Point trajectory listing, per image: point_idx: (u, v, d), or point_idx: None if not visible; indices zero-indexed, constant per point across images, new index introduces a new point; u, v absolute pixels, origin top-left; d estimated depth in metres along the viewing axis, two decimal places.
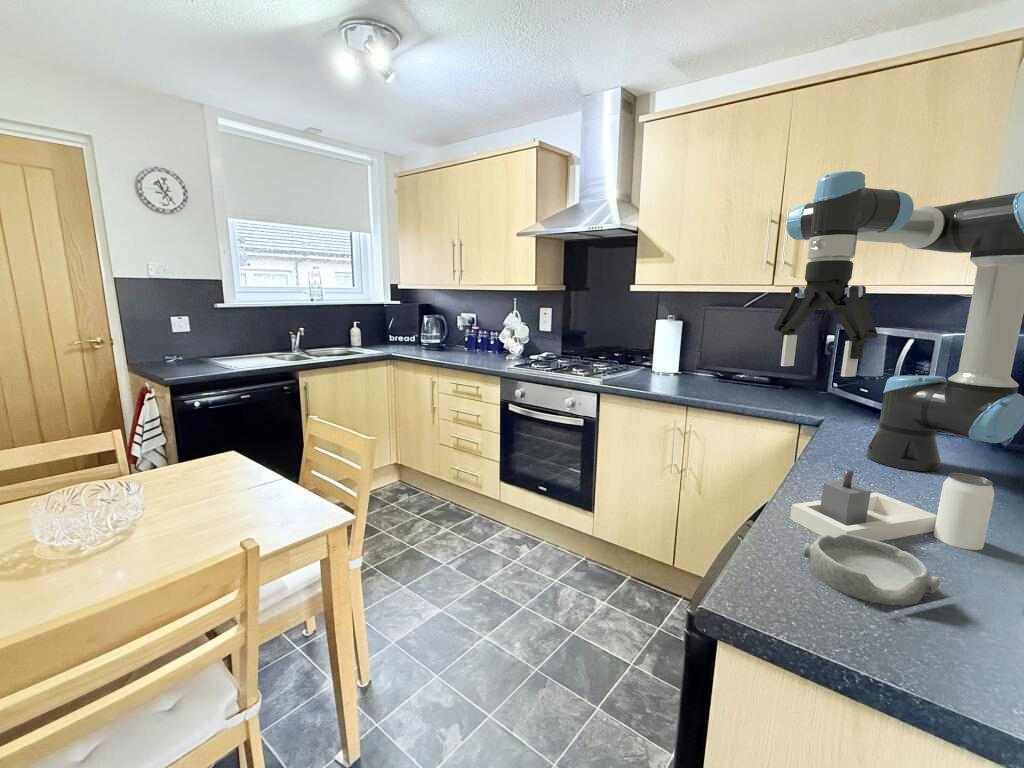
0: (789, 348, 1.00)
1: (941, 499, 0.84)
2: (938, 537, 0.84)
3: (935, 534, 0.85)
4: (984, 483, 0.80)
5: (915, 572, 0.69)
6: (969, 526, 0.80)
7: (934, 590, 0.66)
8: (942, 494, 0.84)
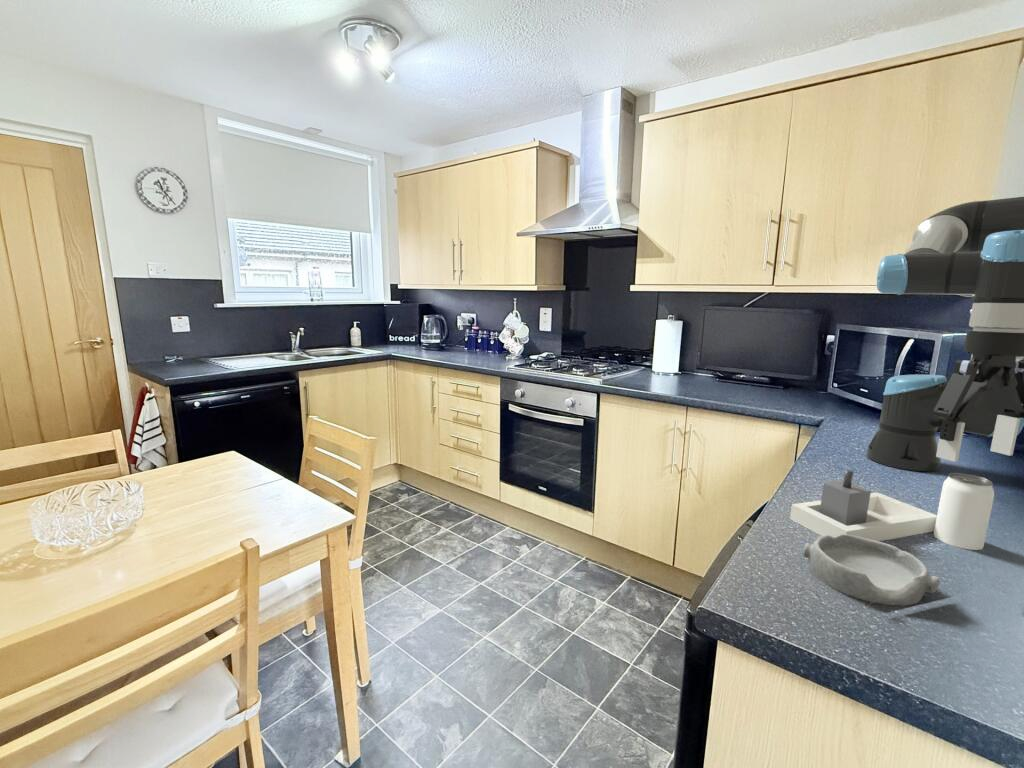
0: (1001, 431, 0.82)
1: (941, 499, 0.84)
2: (938, 537, 0.84)
3: (935, 534, 0.85)
4: (984, 483, 0.80)
5: (915, 572, 0.69)
6: (969, 526, 0.80)
7: (934, 590, 0.66)
8: (942, 494, 0.84)
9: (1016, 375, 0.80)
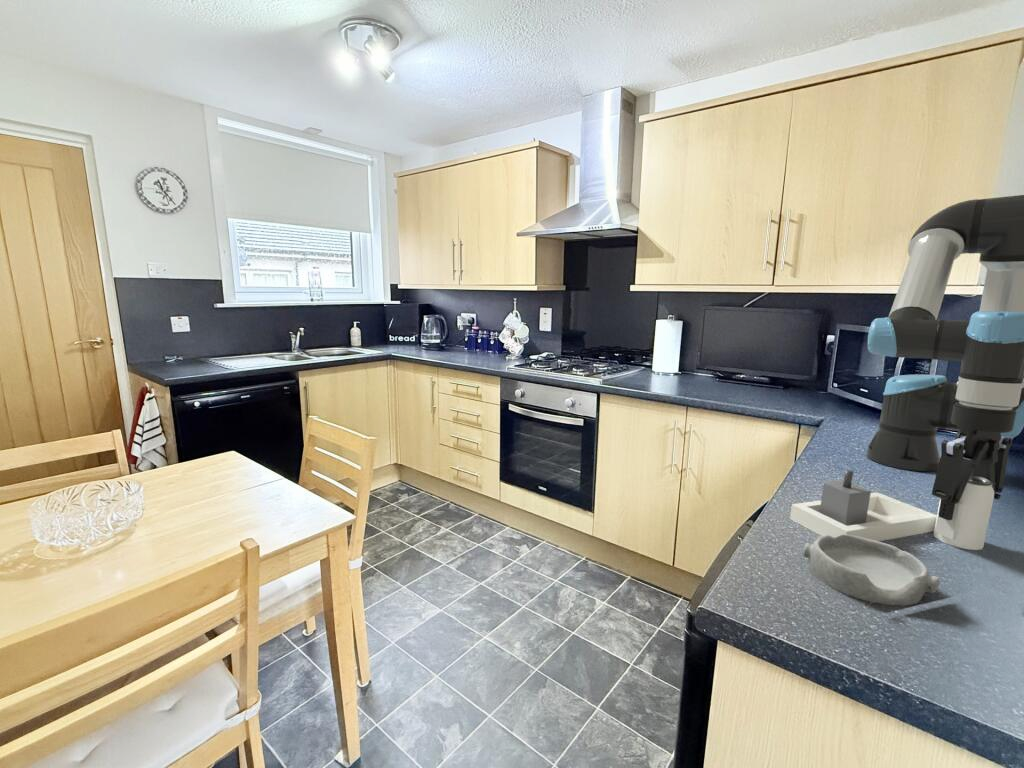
0: None
1: None
2: (938, 537, 0.84)
3: (935, 534, 0.85)
4: (984, 483, 0.80)
5: (915, 572, 0.69)
6: (969, 526, 0.80)
7: (934, 590, 0.66)
8: None
9: (997, 451, 0.82)
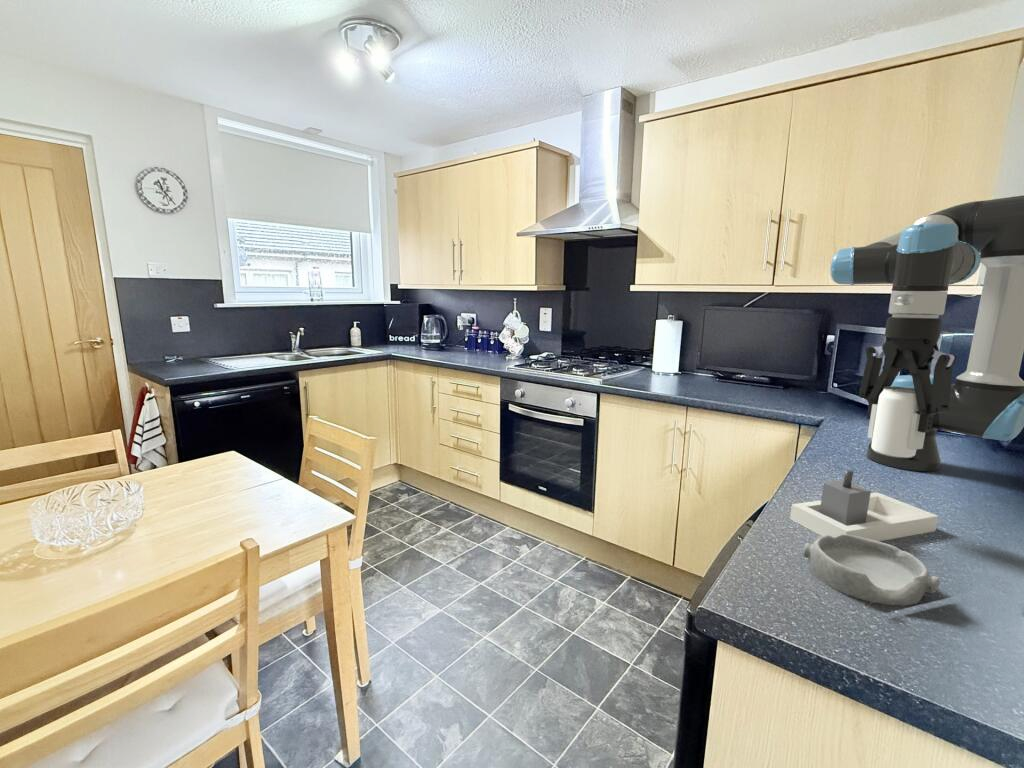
0: None
1: (904, 417, 0.84)
2: (905, 453, 0.85)
3: (899, 452, 0.85)
4: (903, 389, 0.87)
5: (915, 572, 0.69)
6: None
7: (934, 590, 0.66)
8: (905, 411, 0.83)
9: (879, 360, 0.90)
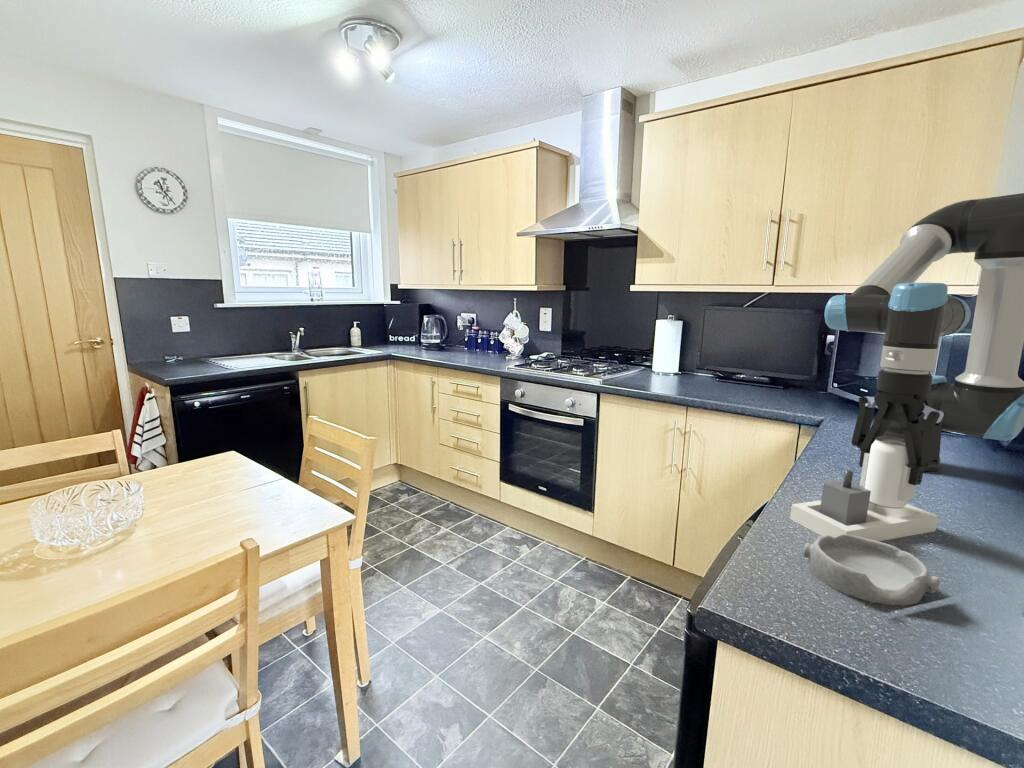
0: None
1: (895, 469, 0.85)
2: (896, 504, 0.86)
3: (890, 503, 0.86)
4: (895, 440, 0.89)
5: (915, 572, 0.69)
6: None
7: (934, 590, 0.66)
8: (896, 464, 0.85)
9: (871, 409, 0.92)
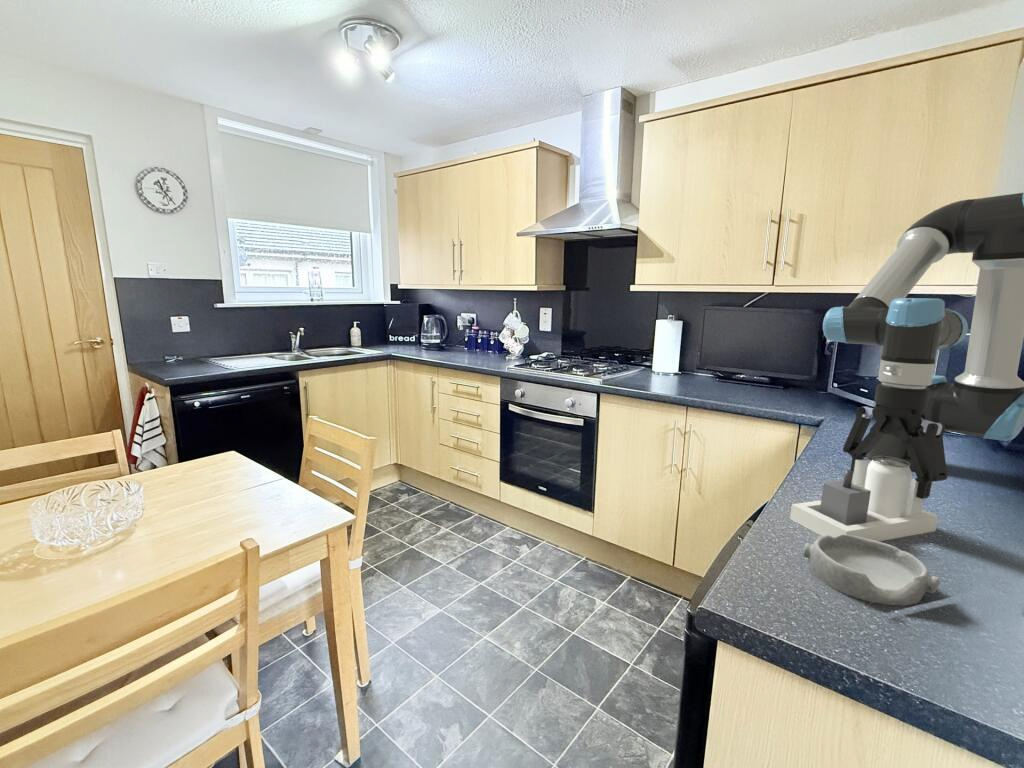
0: (861, 474, 0.93)
1: (891, 490, 0.86)
2: None
3: None
4: (891, 459, 0.89)
5: (915, 572, 0.69)
6: None
7: (934, 590, 0.66)
8: (892, 485, 0.86)
9: (867, 420, 0.92)
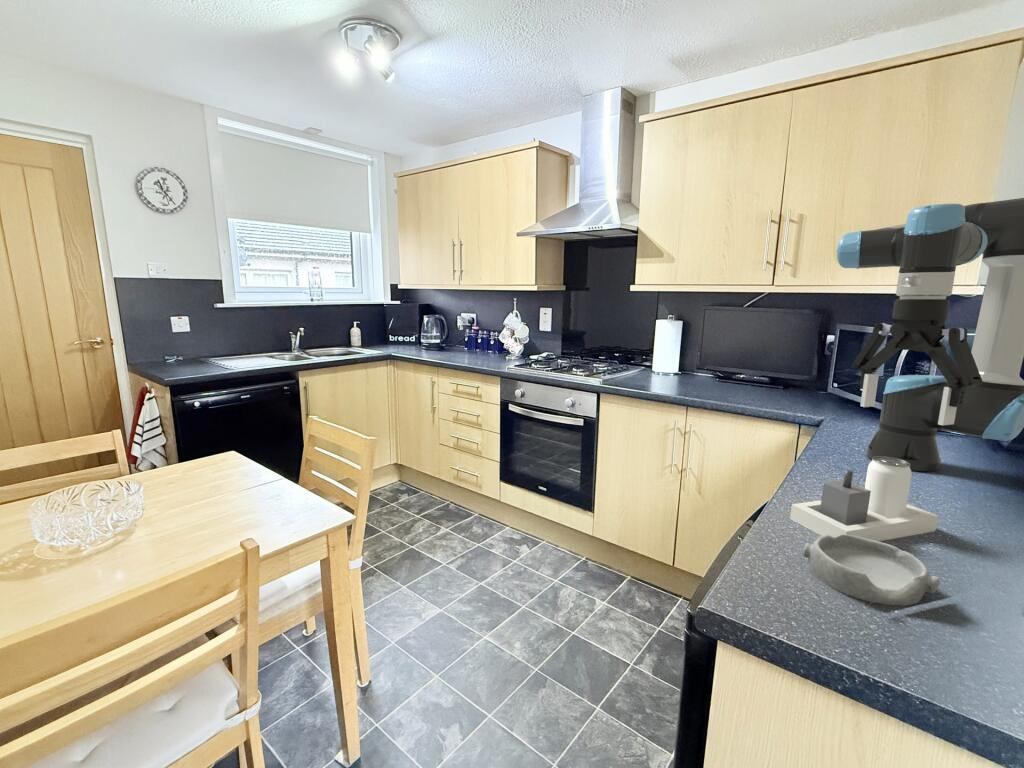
0: (870, 388, 0.93)
1: (891, 489, 0.86)
2: None
3: None
4: (892, 460, 0.90)
5: (915, 572, 0.69)
6: None
7: (934, 590, 0.66)
8: (892, 484, 0.86)
9: (882, 337, 0.91)
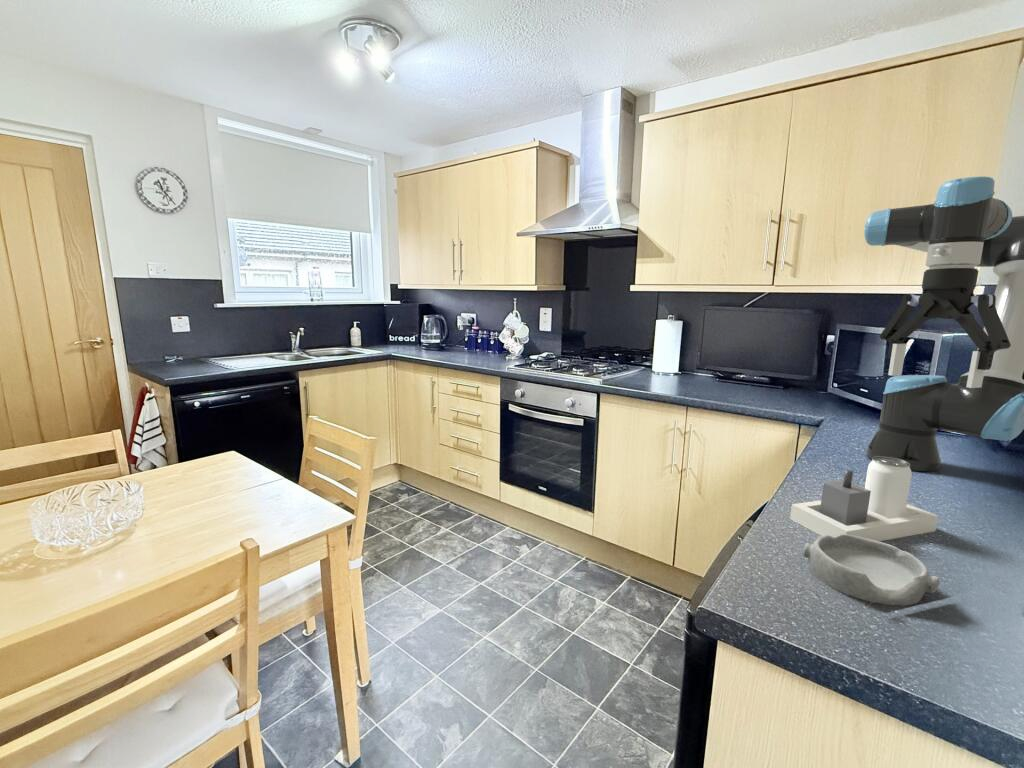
0: (898, 357, 0.97)
1: (891, 489, 0.86)
2: None
3: None
4: (892, 460, 0.90)
5: (915, 572, 0.69)
6: None
7: (934, 590, 0.66)
8: (892, 484, 0.86)
9: (911, 308, 0.95)
